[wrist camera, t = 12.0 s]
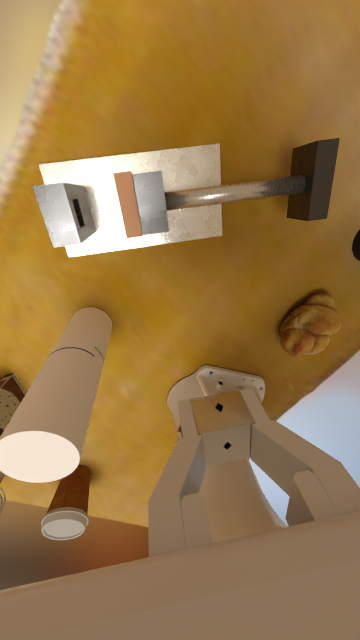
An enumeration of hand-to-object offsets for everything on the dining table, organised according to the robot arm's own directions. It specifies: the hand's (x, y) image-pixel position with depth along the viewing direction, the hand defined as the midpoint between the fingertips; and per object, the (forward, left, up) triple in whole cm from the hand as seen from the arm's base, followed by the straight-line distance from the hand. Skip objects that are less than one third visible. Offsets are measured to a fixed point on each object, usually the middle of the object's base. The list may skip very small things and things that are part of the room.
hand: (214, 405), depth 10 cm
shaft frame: (+4, -6, -33) cm, 34 cm away
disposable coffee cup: (+15, +58, -33) cm, 69 cm away
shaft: (-8, -9, -28) cm, 30 cm away
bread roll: (-30, +10, -33) cm, 46 cm away
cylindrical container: (+11, +15, -33) cm, 38 cm away
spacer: (+5, -6, -32) cm, 33 cm away
